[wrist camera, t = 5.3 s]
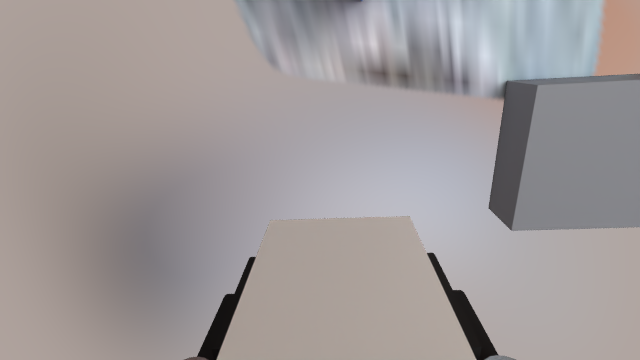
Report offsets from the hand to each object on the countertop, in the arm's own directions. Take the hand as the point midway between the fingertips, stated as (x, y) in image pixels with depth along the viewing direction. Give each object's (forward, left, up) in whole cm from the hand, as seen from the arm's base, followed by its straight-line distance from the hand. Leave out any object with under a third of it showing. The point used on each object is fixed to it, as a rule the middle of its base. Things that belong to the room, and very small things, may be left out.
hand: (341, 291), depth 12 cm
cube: (0, 0, -1) cm, 1 cm away
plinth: (0, +19, -17) cm, 26 cm away
